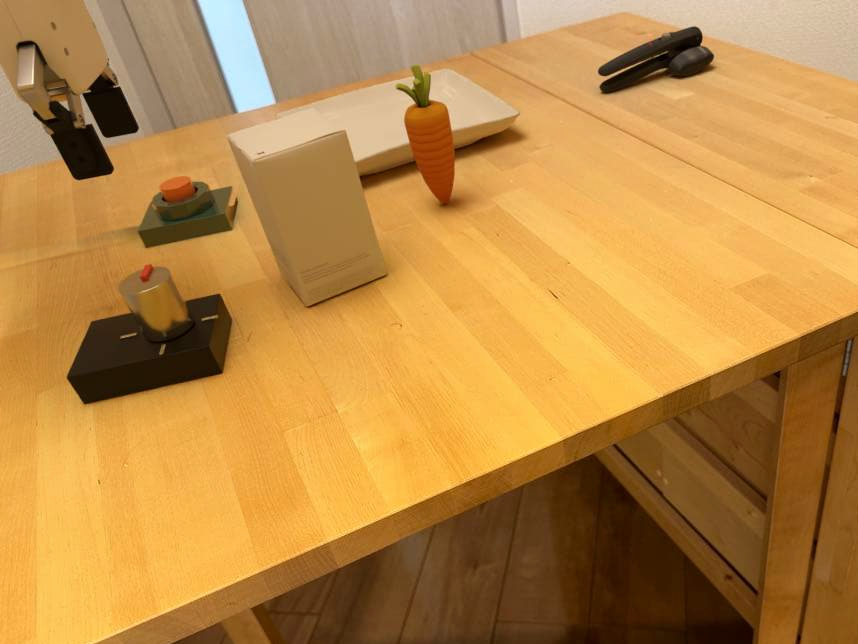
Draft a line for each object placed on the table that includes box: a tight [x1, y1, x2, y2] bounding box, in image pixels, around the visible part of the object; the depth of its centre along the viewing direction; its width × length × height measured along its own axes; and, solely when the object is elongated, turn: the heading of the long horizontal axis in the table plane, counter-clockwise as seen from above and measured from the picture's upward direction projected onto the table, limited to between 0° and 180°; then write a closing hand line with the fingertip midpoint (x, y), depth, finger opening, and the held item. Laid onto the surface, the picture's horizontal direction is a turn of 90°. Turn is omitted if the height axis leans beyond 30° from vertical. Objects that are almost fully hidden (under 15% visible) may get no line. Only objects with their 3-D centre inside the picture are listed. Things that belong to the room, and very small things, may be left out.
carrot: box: [396, 64, 456, 205], centre depth 83 cm, size 5×5×15 cm
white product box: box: [226, 108, 388, 307], centre depth 74 cm, size 9×9×15 cm
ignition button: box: [158, 175, 196, 202], centre depth 89 cm, size 4×4×2 cm
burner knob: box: [117, 263, 194, 342], centre depth 67 cm, size 4×4×5 cm
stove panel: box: [66, 293, 233, 405], centre depth 69 cm, size 12×9×3 cm
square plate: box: [275, 68, 521, 177], centre depth 104 cm, size 27×27×4 cm
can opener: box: [597, 25, 715, 93], centre depth 109 cm, size 18×7×6 cm, turn 114°
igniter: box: [137, 181, 239, 249], centre depth 91 cm, size 10×8×4 cm
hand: (109, 154), depth 67 cm, fingers open, 9 cm apart
